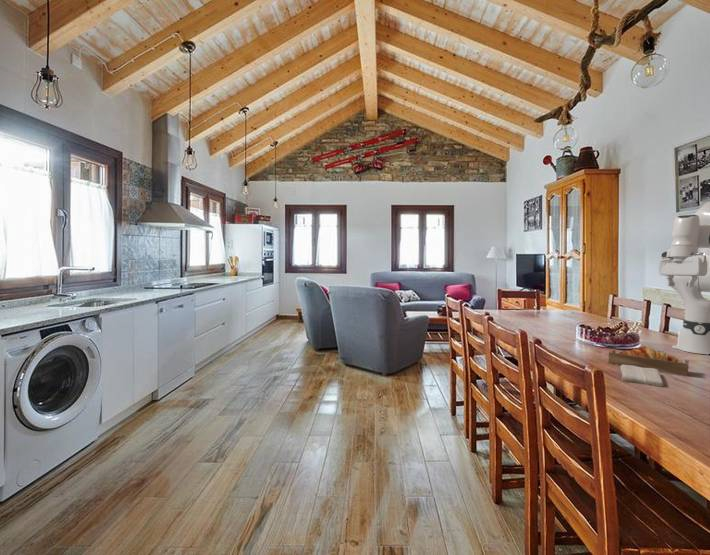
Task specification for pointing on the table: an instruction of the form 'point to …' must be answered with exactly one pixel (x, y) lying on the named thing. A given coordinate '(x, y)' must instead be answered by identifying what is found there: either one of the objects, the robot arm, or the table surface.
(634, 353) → the croissant
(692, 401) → the table surface
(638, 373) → the washcloth
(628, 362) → the frame
